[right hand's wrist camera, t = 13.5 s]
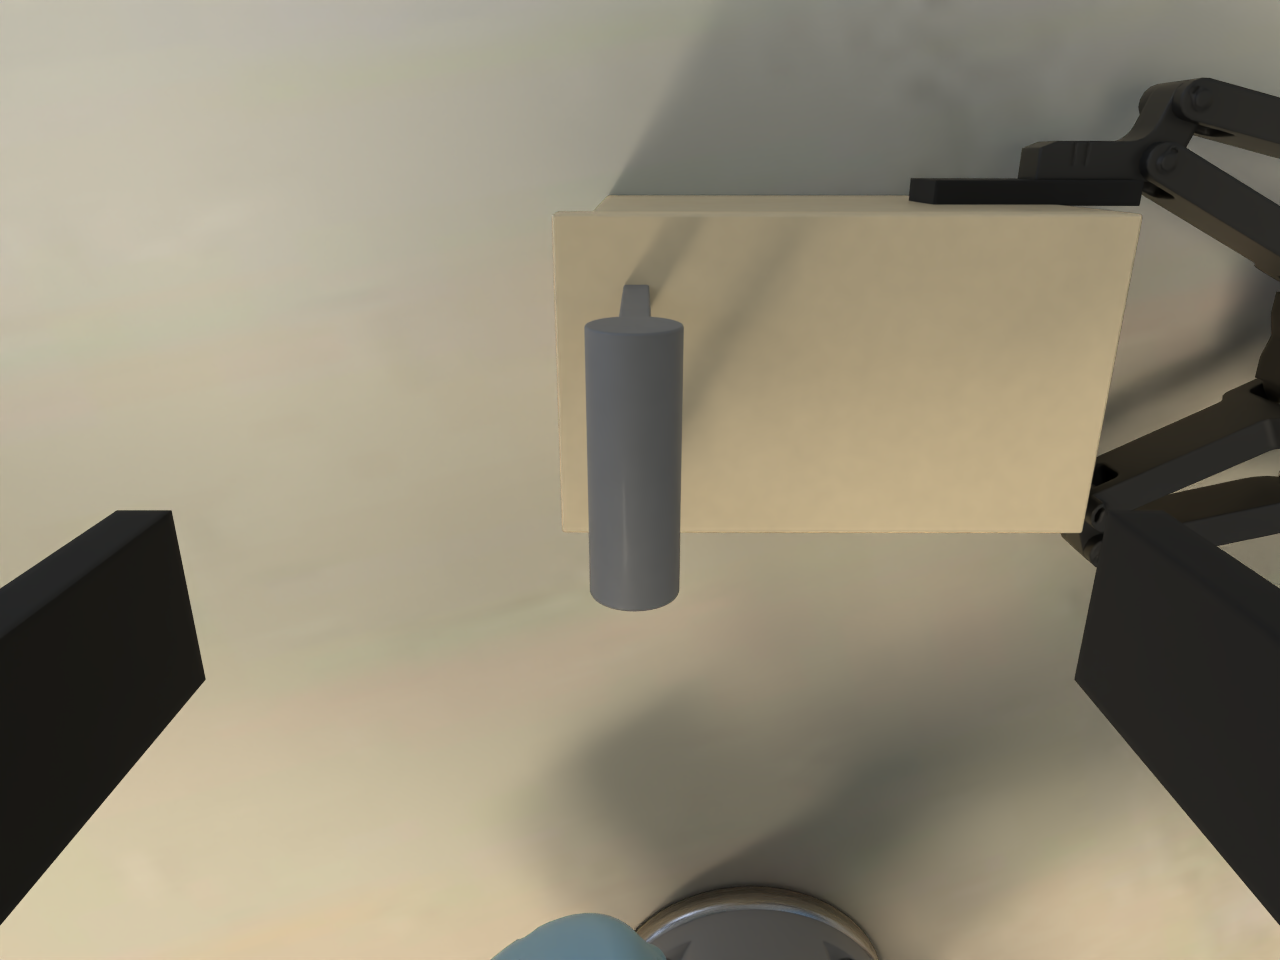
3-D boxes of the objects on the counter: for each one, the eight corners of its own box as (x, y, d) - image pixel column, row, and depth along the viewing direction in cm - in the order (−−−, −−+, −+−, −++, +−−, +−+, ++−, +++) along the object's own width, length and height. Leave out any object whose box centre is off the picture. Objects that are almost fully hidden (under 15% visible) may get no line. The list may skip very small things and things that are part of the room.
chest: (609, 417, 38) (597, 517, 27) (606, 195, 34) (591, 211, 24) (946, 417, 38) (1063, 517, 27) (974, 195, 34) (1120, 211, 24)
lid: (565, 517, 27) (530, 681, 19) (555, 211, 24) (507, 240, 15) (1064, 518, 27) (1257, 682, 19) (1121, 211, 24) (1383, 240, 15)
